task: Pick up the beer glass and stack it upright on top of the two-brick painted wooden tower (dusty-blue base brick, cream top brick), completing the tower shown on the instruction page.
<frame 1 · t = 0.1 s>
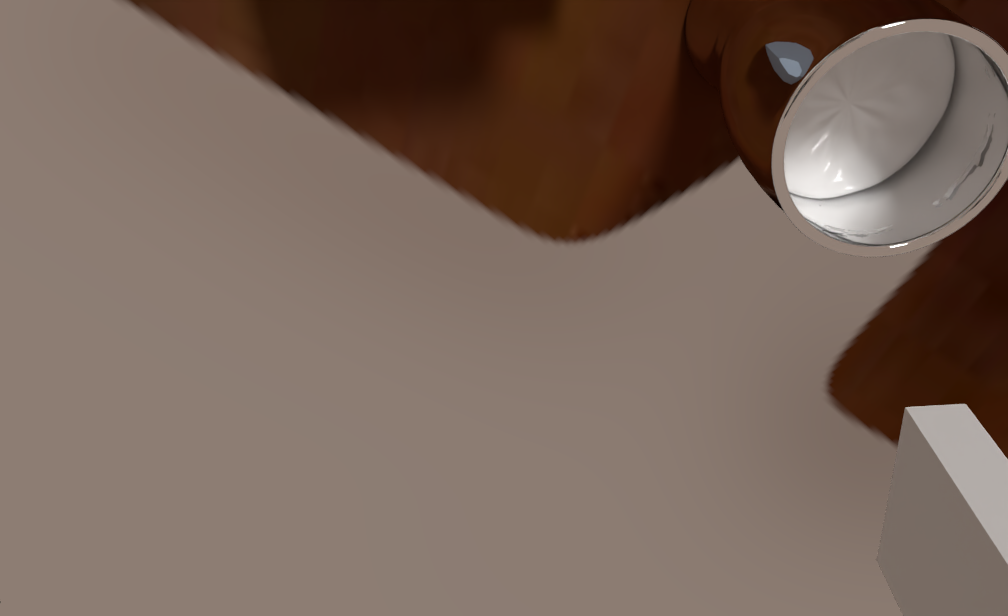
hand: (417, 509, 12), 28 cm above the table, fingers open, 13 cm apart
beer glass: (757, 21, 36), on the table
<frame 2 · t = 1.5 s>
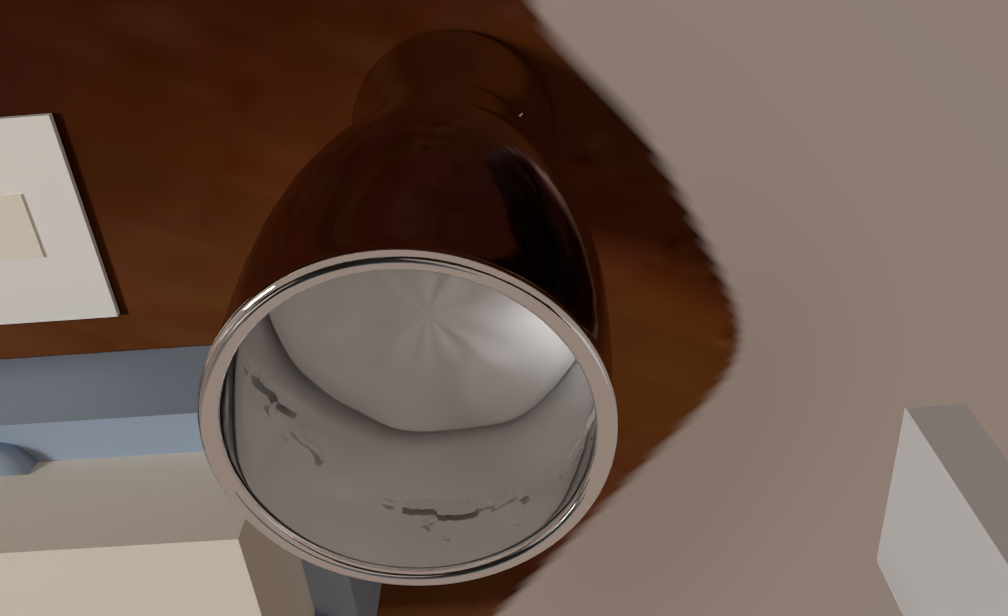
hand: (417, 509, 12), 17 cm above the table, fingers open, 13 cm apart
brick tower: (203, 480, 33), on the table
beer glass: (453, 128, 27), on the table
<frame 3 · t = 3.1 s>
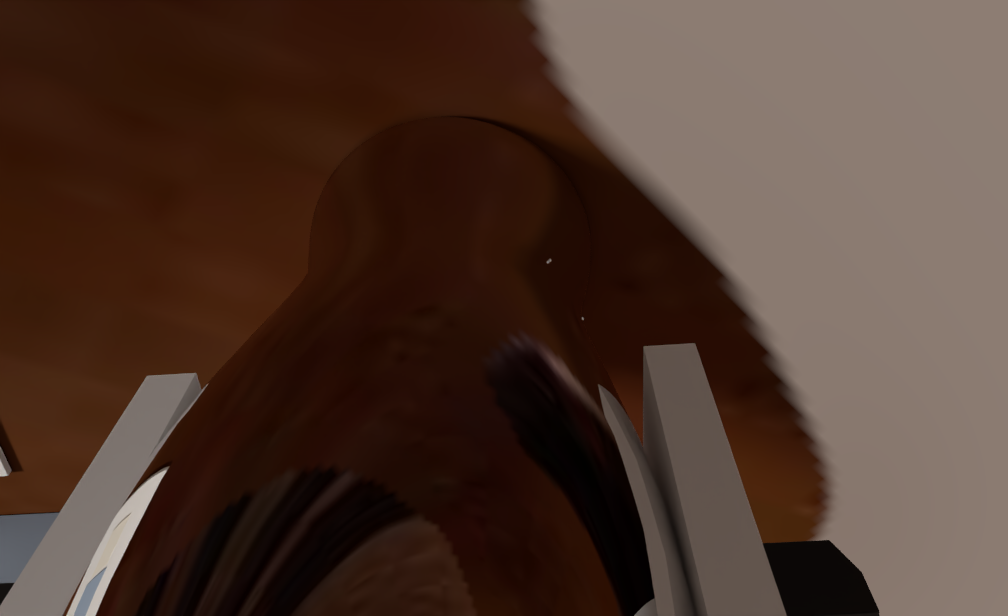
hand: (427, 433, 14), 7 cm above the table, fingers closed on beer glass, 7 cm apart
beer glass: (452, 244, 19), on the table, touching gripper
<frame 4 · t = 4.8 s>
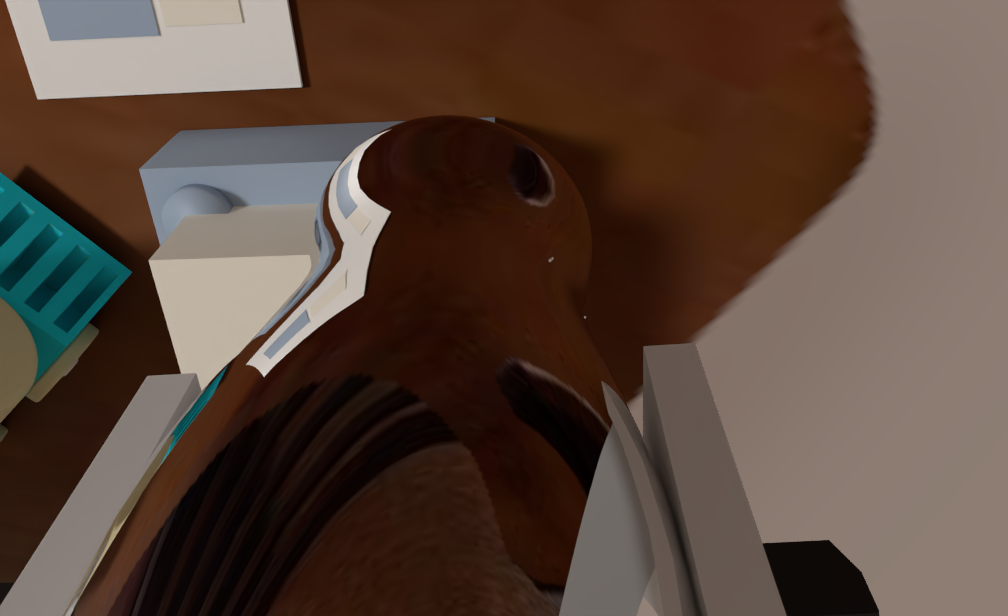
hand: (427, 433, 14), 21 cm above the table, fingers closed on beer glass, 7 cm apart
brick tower: (358, 265, 36), on the table
beer glass: (454, 243, 19), point 14 cm above the table, touching gripper
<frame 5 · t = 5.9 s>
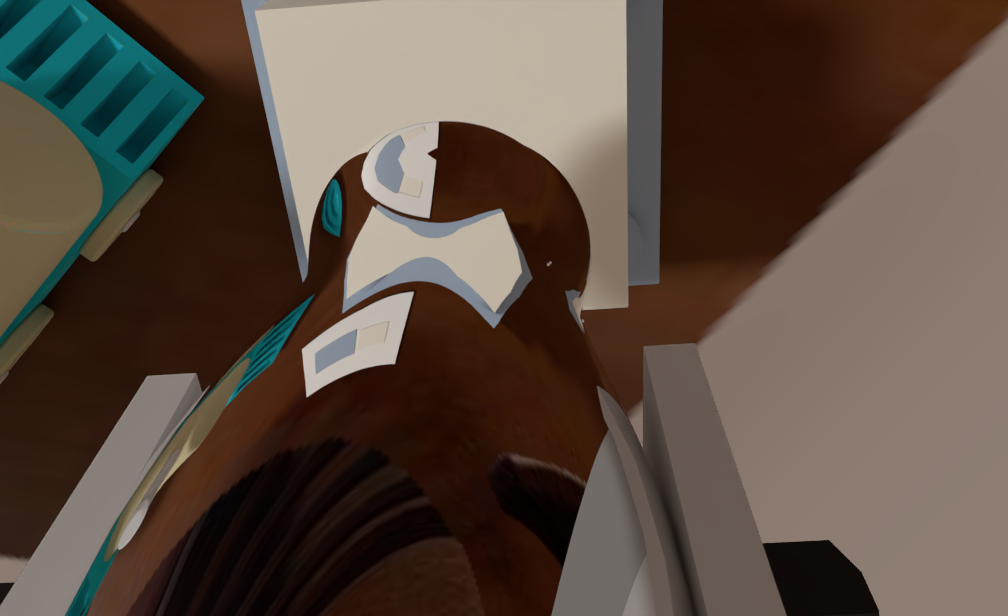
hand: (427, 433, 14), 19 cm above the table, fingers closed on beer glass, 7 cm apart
toy train: (16, 188, 33), on the table
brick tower: (469, 87, 30), on the table
beer glass: (452, 246, 19), point 12 cm above the table, touching gripper
when the fingers open (15 cm above the table, at t = 6.8 s): beer glass stays where it is, resting on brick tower.
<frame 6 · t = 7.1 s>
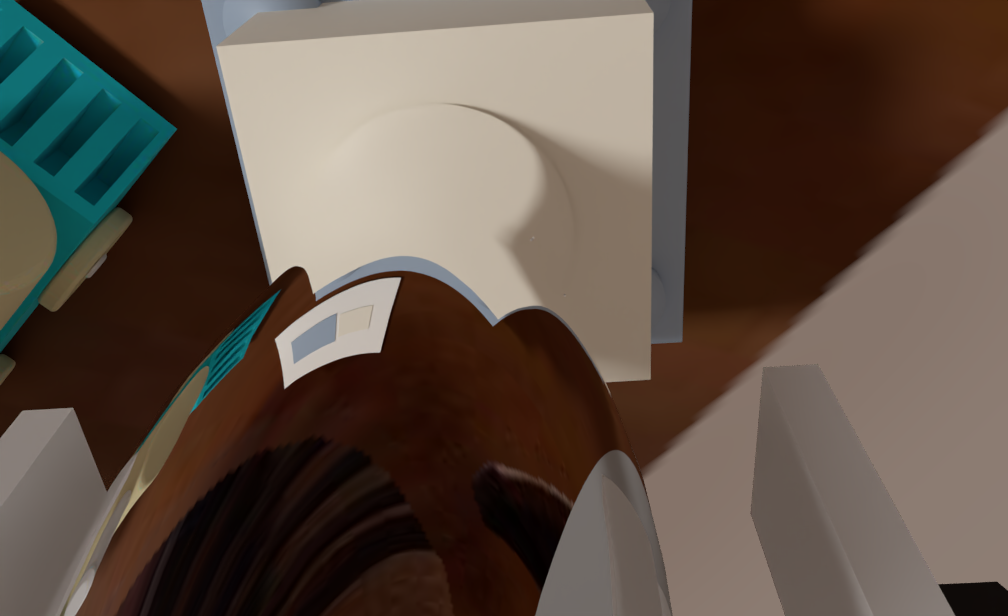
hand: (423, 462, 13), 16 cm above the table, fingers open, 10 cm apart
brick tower: (470, 120, 27), on the table
beer glass: (441, 227, 20), point 8 cm above the table, touching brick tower
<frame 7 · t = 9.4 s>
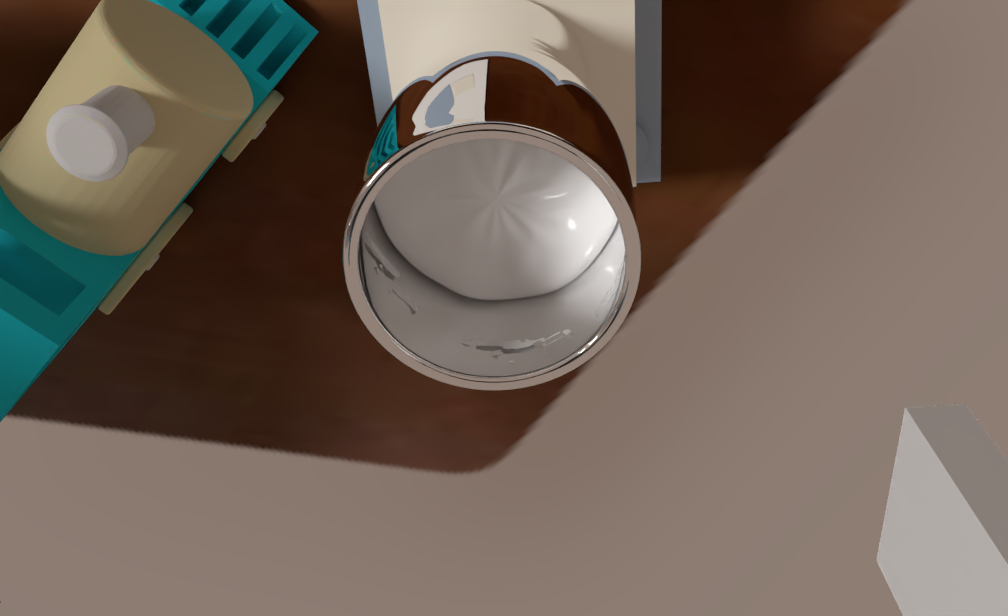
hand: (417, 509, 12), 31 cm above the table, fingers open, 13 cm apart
toy train: (165, 110, 41), on the table
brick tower: (513, 31, 39), on the table
beer glass: (503, 80, 32), point 8 cm above the table, touching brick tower
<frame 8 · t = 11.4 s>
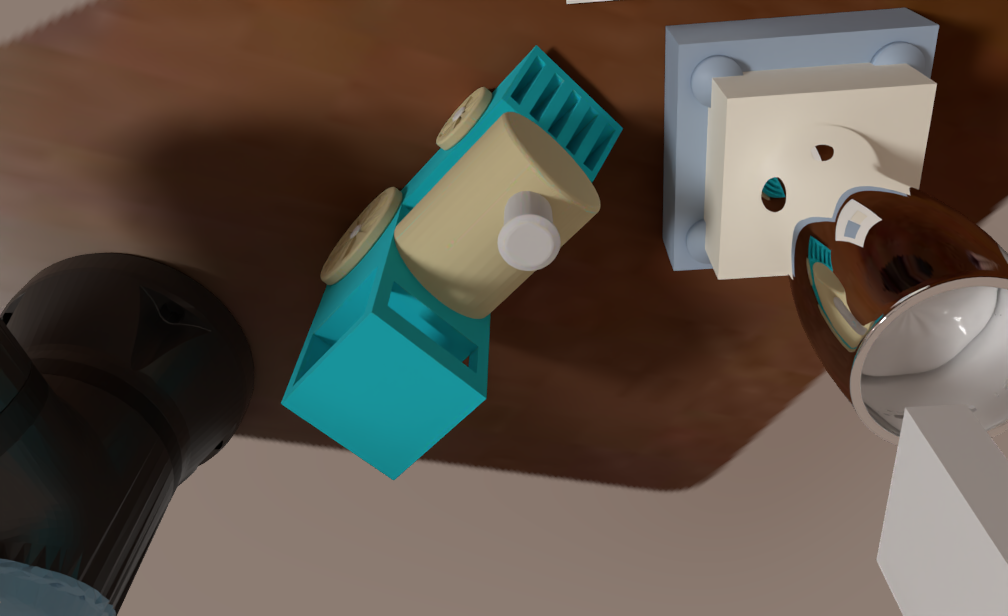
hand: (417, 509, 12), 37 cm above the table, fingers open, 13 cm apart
toy train: (474, 188, 49), on the table
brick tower: (775, 131, 47), on the table
beer glass: (812, 186, 40), point 8 cm above the table, touching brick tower
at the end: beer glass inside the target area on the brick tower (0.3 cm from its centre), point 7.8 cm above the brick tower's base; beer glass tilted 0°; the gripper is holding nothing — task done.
